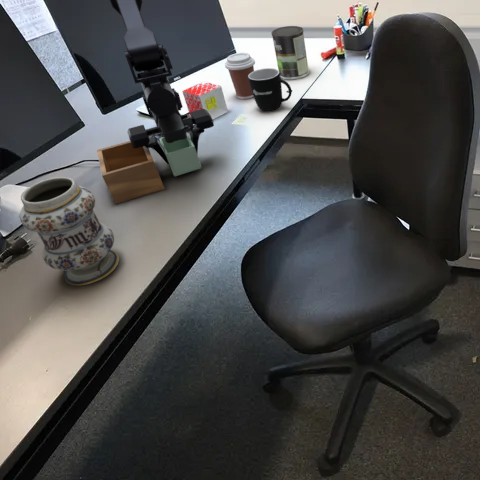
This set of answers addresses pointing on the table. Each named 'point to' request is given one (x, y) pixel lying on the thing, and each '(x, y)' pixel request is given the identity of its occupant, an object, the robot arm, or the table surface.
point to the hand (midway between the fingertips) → (182, 159)
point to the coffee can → (290, 52)
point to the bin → (181, 155)
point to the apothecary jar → (69, 230)
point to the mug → (267, 89)
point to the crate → (128, 171)
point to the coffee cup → (241, 73)
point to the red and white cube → (206, 99)
